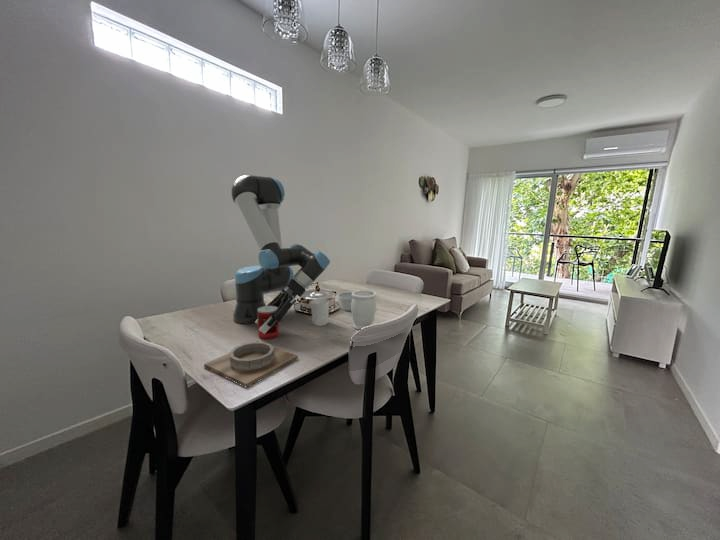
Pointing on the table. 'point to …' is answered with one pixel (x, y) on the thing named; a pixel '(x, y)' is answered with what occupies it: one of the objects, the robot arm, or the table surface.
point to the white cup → (320, 311)
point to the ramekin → (345, 301)
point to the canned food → (263, 316)
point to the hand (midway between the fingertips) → (259, 327)
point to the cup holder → (250, 362)
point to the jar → (363, 308)
